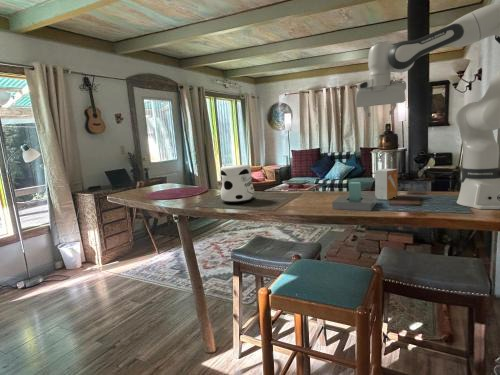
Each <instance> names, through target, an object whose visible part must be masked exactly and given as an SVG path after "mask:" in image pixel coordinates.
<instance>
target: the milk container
mask: <svg viewBox="0 0 500 375" xmlns="http://www.w3.org/2000/svg"><path fill="white" fill-rule="evenodd" d="M219 172H220V183H221V186H220V192H219V193H220V198H221V200H222V201H223V202H224V203H229V204H240V203H246V202H250V201H251V200H253V199H254V197H255V188H254V185H253V181H252V180H253V179H252V177H253V176H252V167H251V165H250V164H235V165H226V166H221V167H220V168H219Z"/></svg>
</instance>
